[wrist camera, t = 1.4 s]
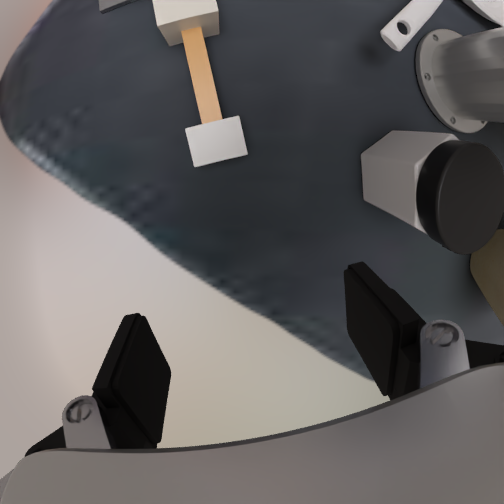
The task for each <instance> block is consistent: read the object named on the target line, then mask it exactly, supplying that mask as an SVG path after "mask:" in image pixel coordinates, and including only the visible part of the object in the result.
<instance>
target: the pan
mask: <svg viewBox="0 0 504 504" xmlns="http://www.w3.org/2000/svg"><path fill="white" fill-rule="evenodd" d="M442 1H443V0H412V1H411V2H410V3H409V4H408V5H407V6H405V7H404V8H403V9H402V10H401V11H400V12H399V13H398V14H397V15H396V16H395V17H394V18H393V19H392V20H391V21H390V22H389V23H388V24H387V25H386V26H385V27H384V28H383V29H382V30H381V31H380V34H381V37H382V38H383V40H384V41H385V42H386V43H387V44H388V45H389V46H390V47H391V48H392V49H394V50H396V51H401V50H402V49H403V47H404V46H405V45H406V44H407V43H408V42H409V41H410V40H411V38H412V37H413V36H414V35H415V34H416V33H417V32H418V30H419V29H420V28H421V27H422V26H423V25H424V24H425V22H426V21H427V20H428V19H429V18H430V17H431V16H432V14H433V13H434V12H435V10H436V9H437V8H438V6H439V5H440V4H441V2H442ZM462 1H463V2H464V3H465V4H466V5H468V6H469V7H470V8H471V9H473V10H474V11H475V12H477V13H478V14H480V15H481V16H483V17H485V18H486V19H488V20H490V21H492V22H494V23H497V24H499V25H501V26H502V27H504V0H496V1H495V0H485V1H484V0H462ZM488 1H489V2H488ZM493 1H494V2H493ZM398 22H401V23H403V24H404V25H405V26H406V27H407V30H408V33H407V35H403V34H401V33H400V32H399V30H398V28H397V23H398Z"/></svg>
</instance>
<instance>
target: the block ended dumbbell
mask: <svg viewBox="0 0 504 504" xmlns="http://www.w3.org/2000/svg"><path fill="white" fill-rule="evenodd" d="M153 5H154V11H155V16H156V21H157V26H158V28H159V30H160V31H161V33H162V34H163V36H164V38H165V39H166V41H167V43H168V44H169V46H173V45H177V44H180V43H184V46H185V51H186V55H187V60H188V64H189V69H190V73H191V78H192V82H193V86H194V91H195V95H196V100H197V104H198V108H199V112H200V117H201V121H202V124H201V125H197V126H193V127H190V128H186V129H185V131H186V135H187V139H188V143H189V147H190V151H191V155H192V159H193V163H194V167H198V166H202V165H206V164H210V163H214V162H218V161H222V160H226V159H231V158H235V157H239V156H244V155H248V153H247V149H246V144H245V140H244V135H243V131H242V127H241V122H240V118H239V116H235V117H230V118H226V119H222V115H221V111H220V106H219V102H218V98H217V93H216V89H215V85H214V80H213V76H212V72H211V68H210V63H209V59H208V55H207V50H206V46H205V42H204V37H209V36H214V35H218V34H219V11H218V7H217V3H216V0H153Z"/></svg>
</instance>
